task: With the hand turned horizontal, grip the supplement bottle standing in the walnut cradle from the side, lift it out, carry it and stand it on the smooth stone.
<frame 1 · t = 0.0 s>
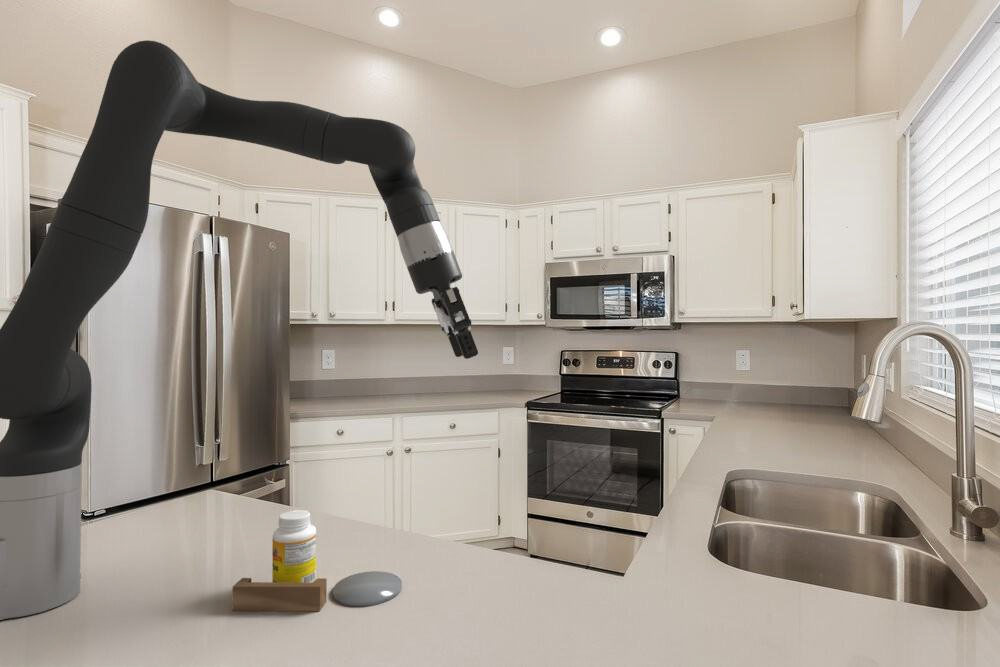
hand: (466, 356, 82), 31 cm above the worktop, tool tilted 20°, fingers open, 8 cm apart
supplement bottle: (294, 591, 72), resting in cradle
smooth stone: (367, 590, 72), on the worktop
cradle: (294, 589, 72), on the worktop
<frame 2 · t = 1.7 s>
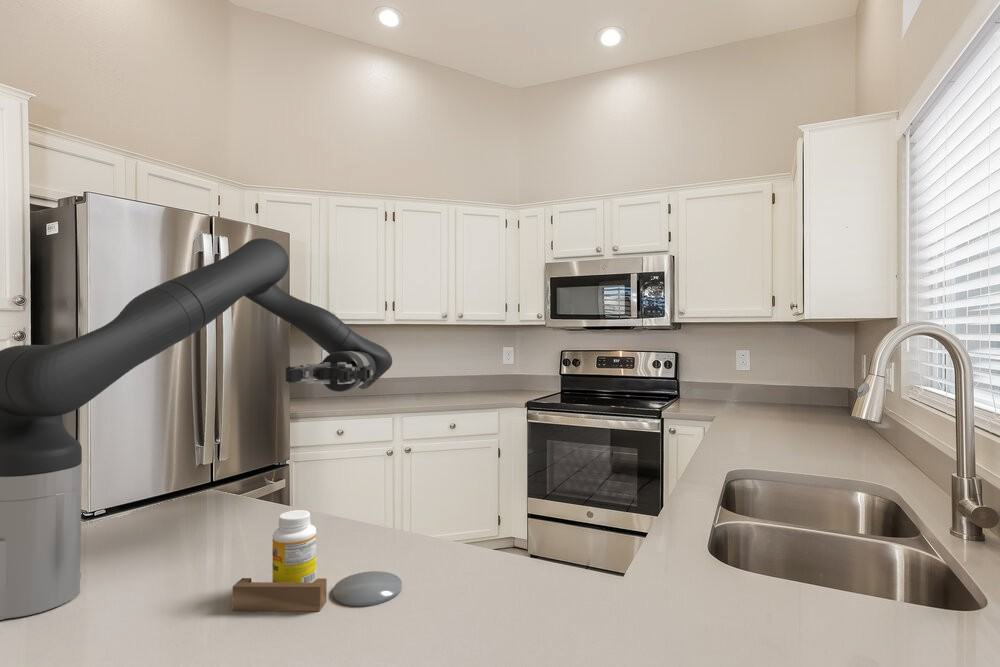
hand: (315, 376, 87), 28 cm above the worktop, tool horizontal, fingers open, 8 cm apart
nothing on the worktop moved.
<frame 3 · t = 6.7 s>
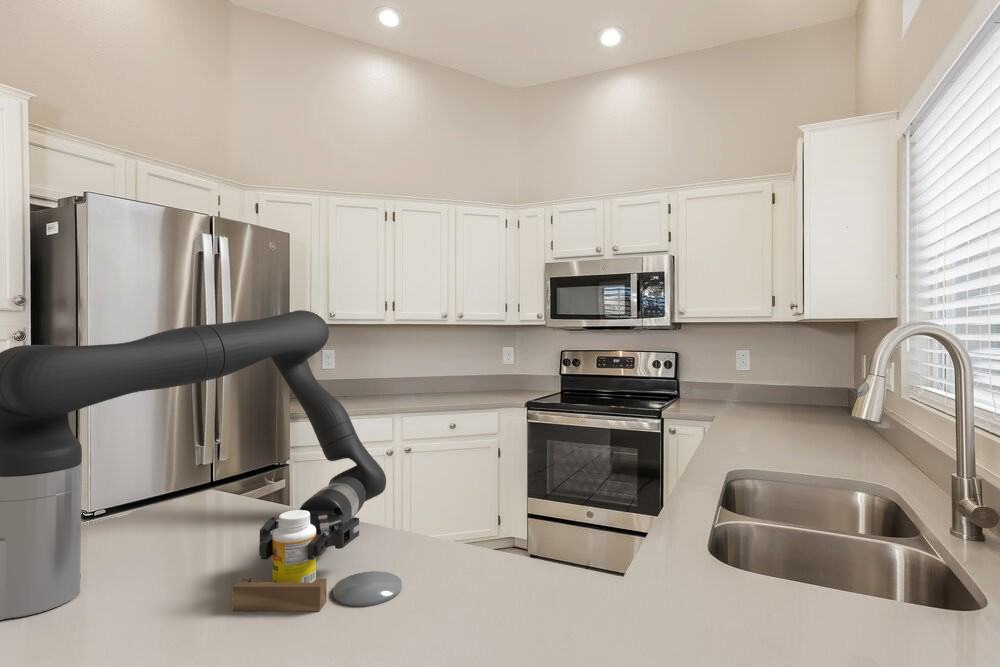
hand: (287, 552, 70), 6 cm above the worktop, tool horizontal, fingers closed on supplement bottle, 5 cm apart
supplement bottle: (294, 591, 72), resting in cradle, touching gripper
when the fingers open (7 cm above the worktop, at t = 11.4 s): supplement bottle stays where it is, resting on smooth stone.
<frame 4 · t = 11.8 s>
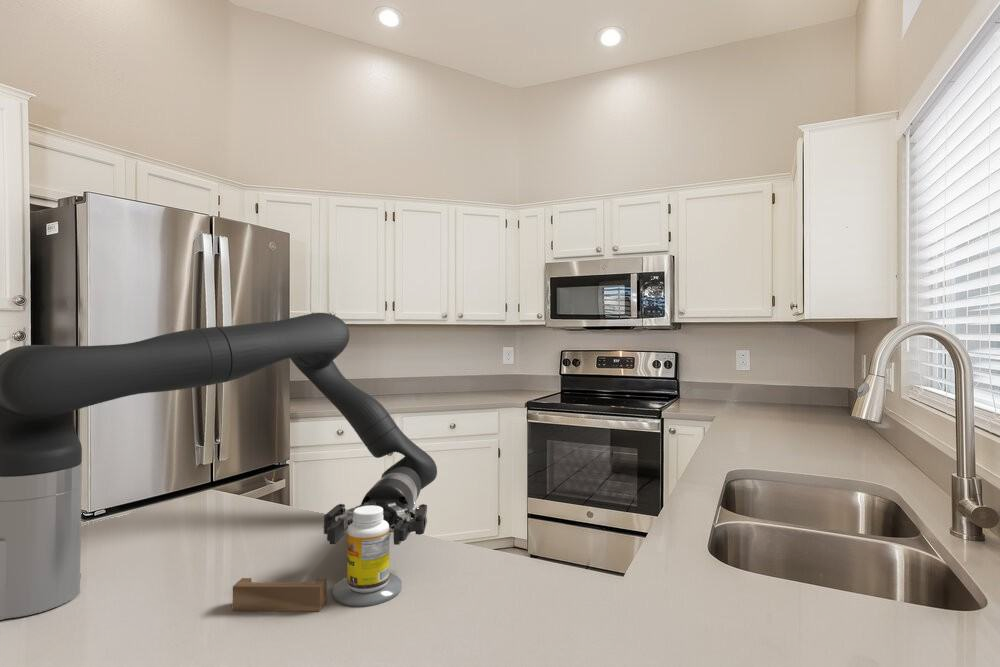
hand: (364, 537, 70), 8 cm above the worktop, tool horizontal, fingers open, 8 cm apart
supplement bottle: (368, 586, 72), resting on smooth stone
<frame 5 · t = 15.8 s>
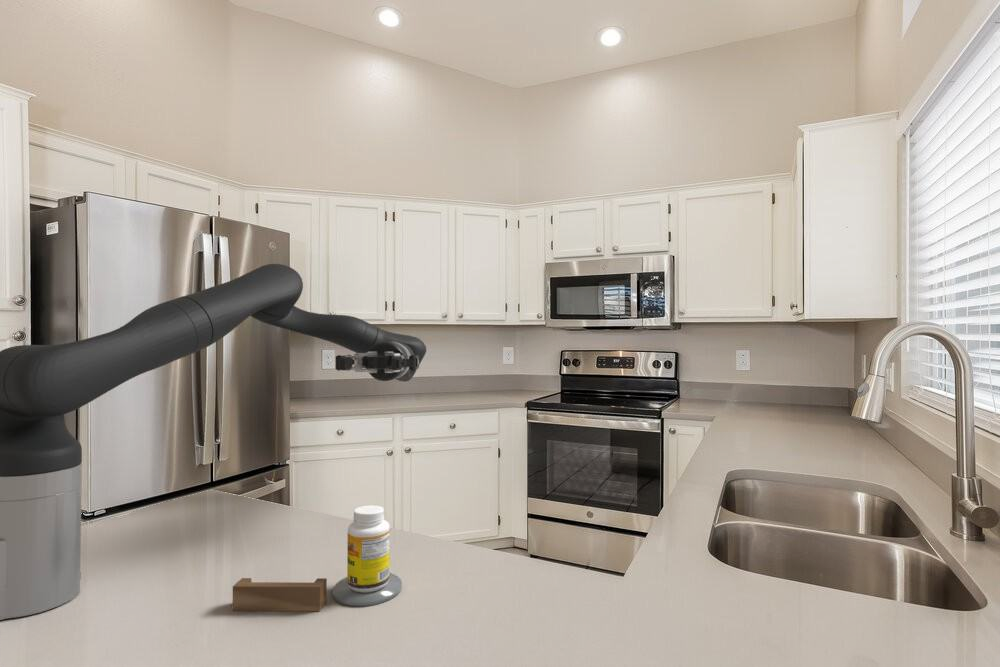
hand: (368, 363, 89), 30 cm above the worktop, tool horizontal, fingers open, 8 cm apart
nothing on the worktop moved.
at the end: supplement bottle 0.1 cm from the smooth stone (horizontally); supplement bottle tilted 0°; the gripper is holding nothing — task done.
